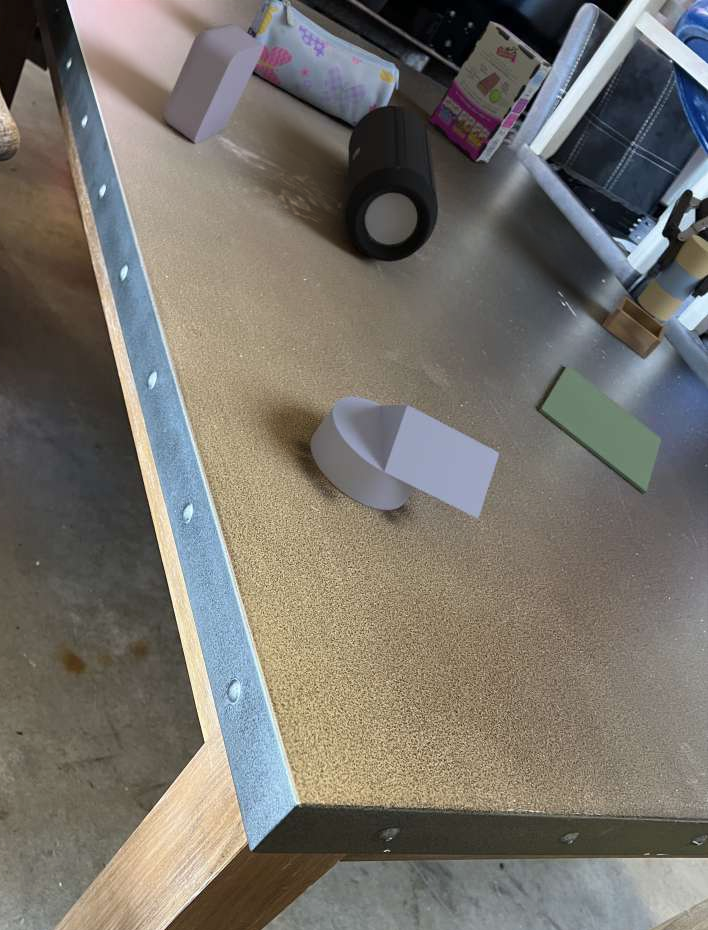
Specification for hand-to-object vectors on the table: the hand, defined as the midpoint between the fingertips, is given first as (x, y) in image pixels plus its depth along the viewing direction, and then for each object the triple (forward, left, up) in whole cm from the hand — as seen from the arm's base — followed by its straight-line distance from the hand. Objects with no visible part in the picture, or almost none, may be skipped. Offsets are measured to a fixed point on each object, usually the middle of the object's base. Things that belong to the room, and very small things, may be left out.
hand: (679, 280), depth 126 cm
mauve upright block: (+54, +38, -10) cm, 67 cm away
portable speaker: (+34, +26, -10) cm, 44 cm away
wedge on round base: (+13, +72, -10) cm, 74 cm away
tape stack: (0, -2, -5) cm, 6 cm away
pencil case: (+55, +4, -10) cm, 56 cm away
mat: (-2, +32, -10) cm, 34 cm away
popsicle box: (+39, -29, -10) cm, 50 cm away
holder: (0, -2, -10) cm, 10 cm away
